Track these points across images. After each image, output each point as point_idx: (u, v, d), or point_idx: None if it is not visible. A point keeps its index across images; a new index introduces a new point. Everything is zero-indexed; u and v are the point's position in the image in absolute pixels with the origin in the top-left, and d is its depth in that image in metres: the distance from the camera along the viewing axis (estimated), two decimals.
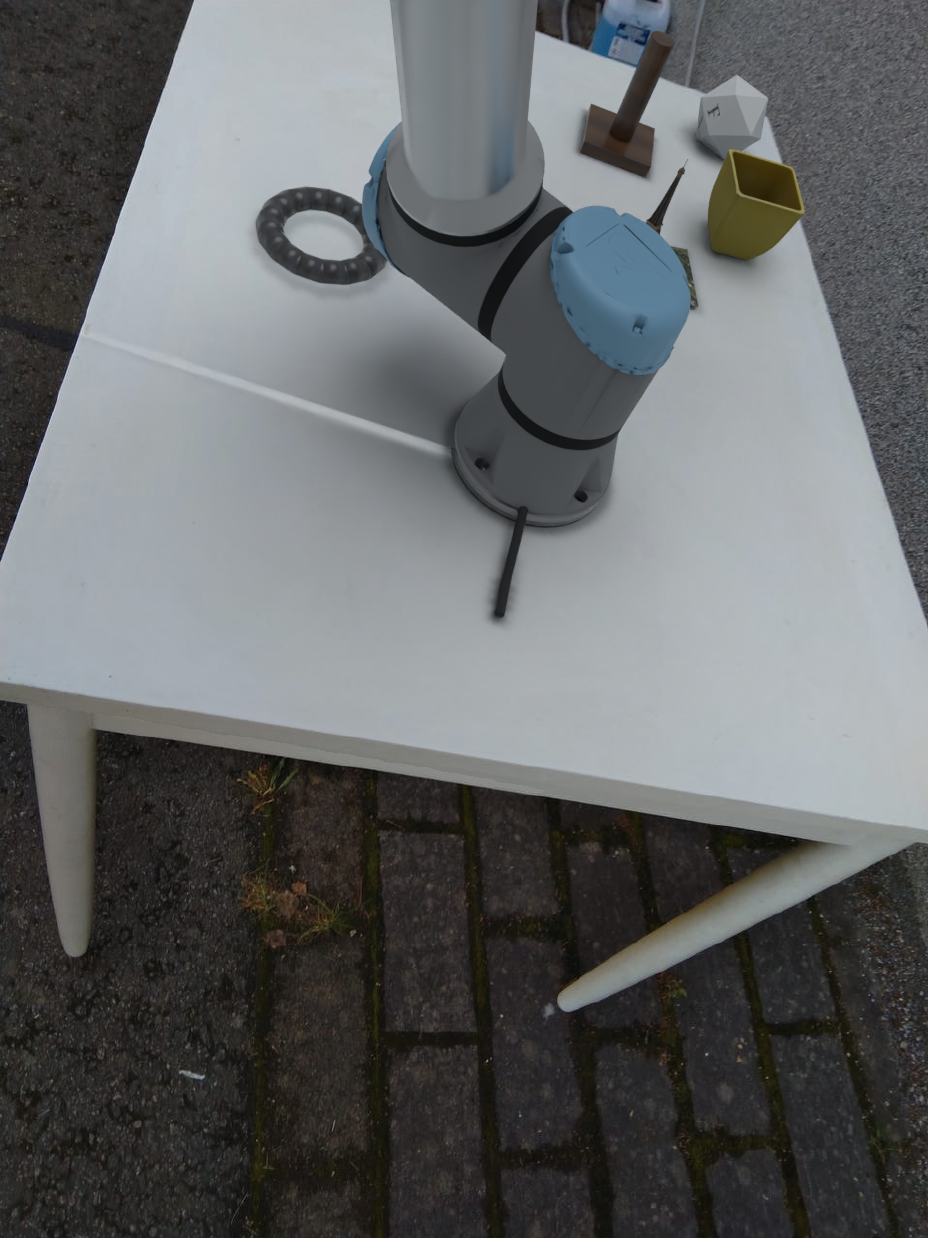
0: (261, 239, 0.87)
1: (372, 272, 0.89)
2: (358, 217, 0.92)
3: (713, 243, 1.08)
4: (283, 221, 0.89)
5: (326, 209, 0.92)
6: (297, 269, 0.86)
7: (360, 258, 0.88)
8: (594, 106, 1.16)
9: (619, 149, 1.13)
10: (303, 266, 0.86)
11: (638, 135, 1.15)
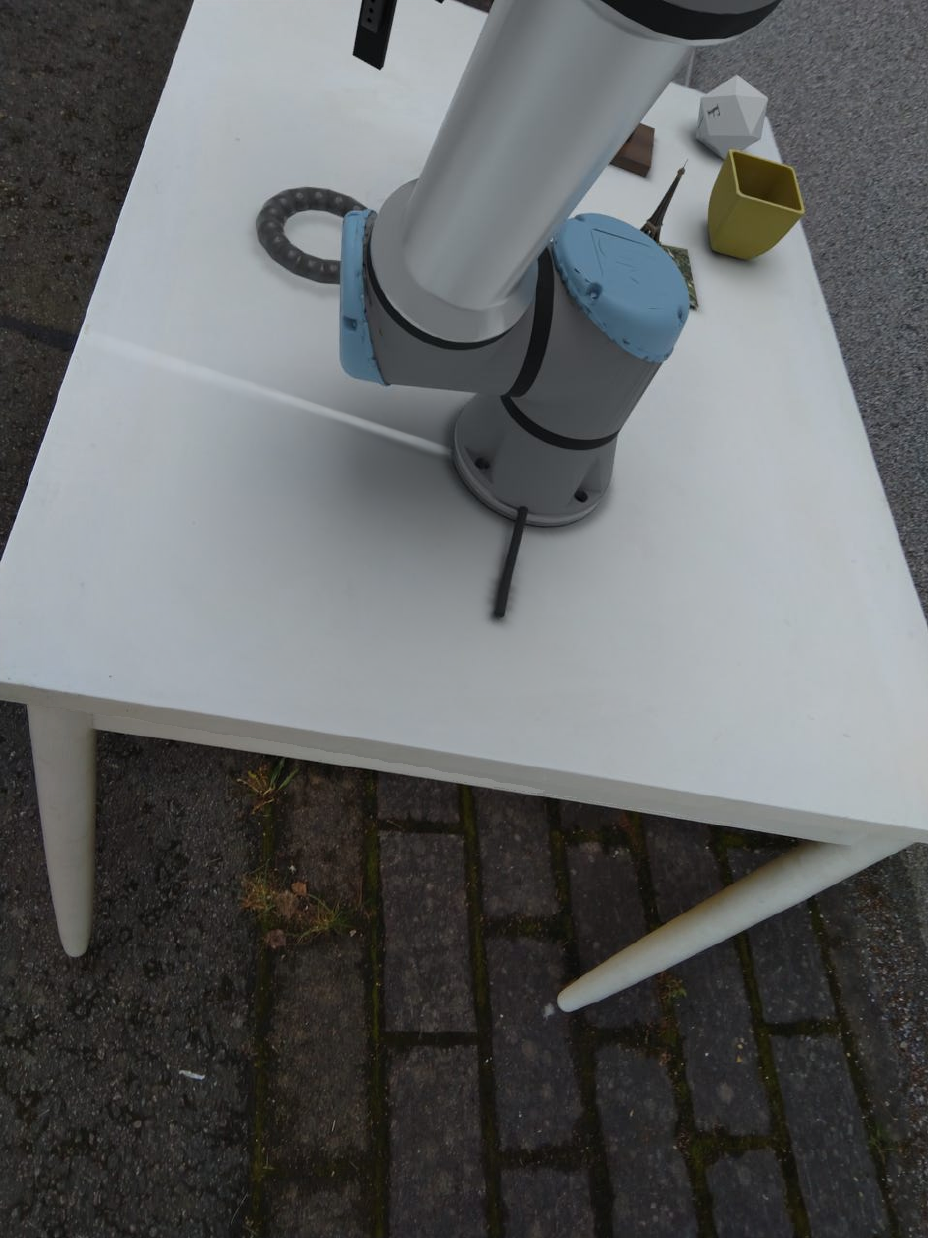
0: (261, 239, 0.87)
1: None
2: None
3: (713, 243, 1.08)
4: (283, 221, 0.89)
5: (326, 209, 0.92)
6: (297, 269, 0.86)
7: None
8: None
9: None
10: (303, 266, 0.86)
11: (638, 135, 1.15)
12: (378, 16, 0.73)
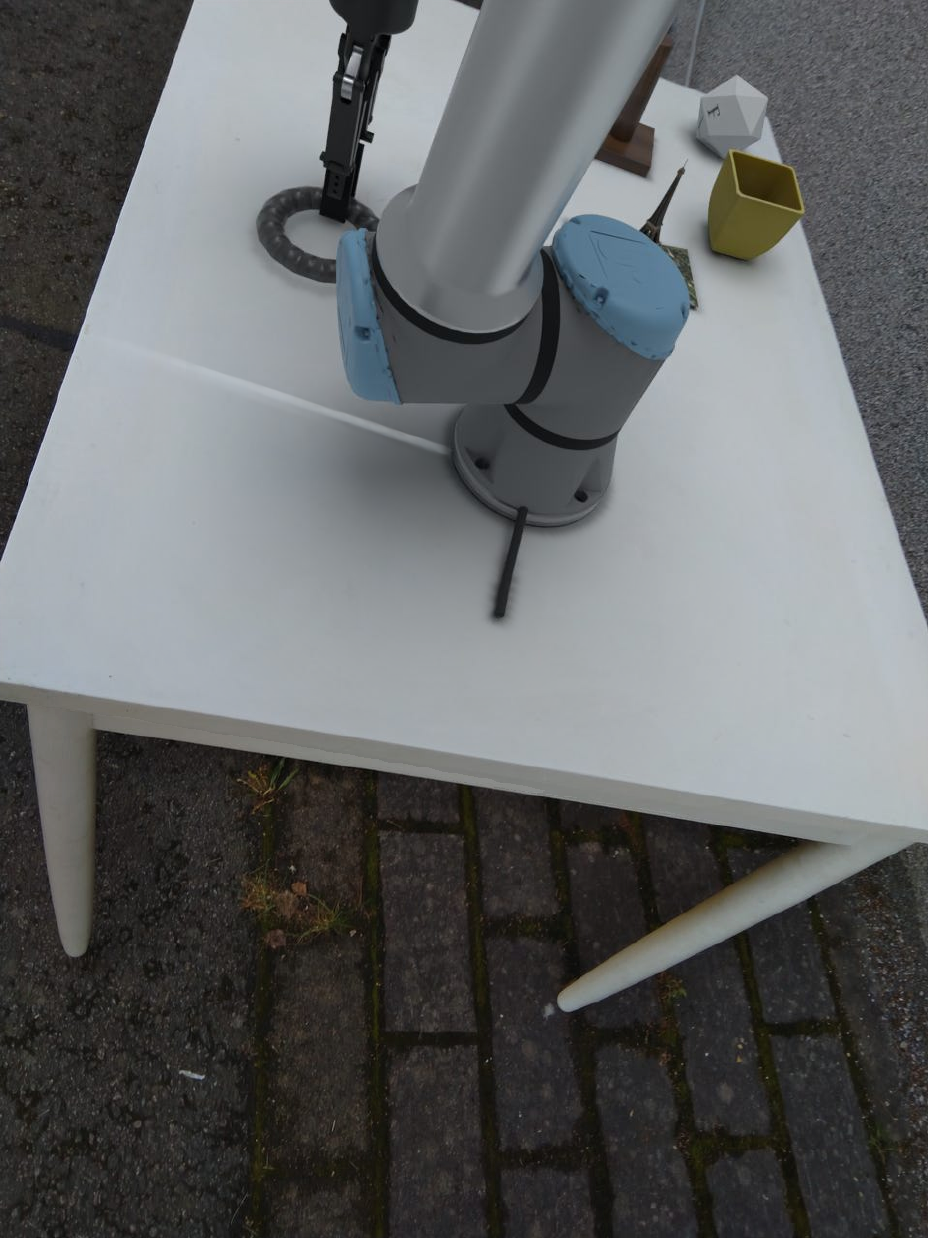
0: (261, 238, 0.87)
1: None
2: (358, 217, 0.92)
3: (713, 243, 1.08)
4: (283, 220, 0.89)
5: None
6: (298, 268, 0.86)
7: None
8: None
9: (619, 149, 1.13)
10: (303, 265, 0.86)
11: (638, 135, 1.15)
12: (342, 188, 0.88)
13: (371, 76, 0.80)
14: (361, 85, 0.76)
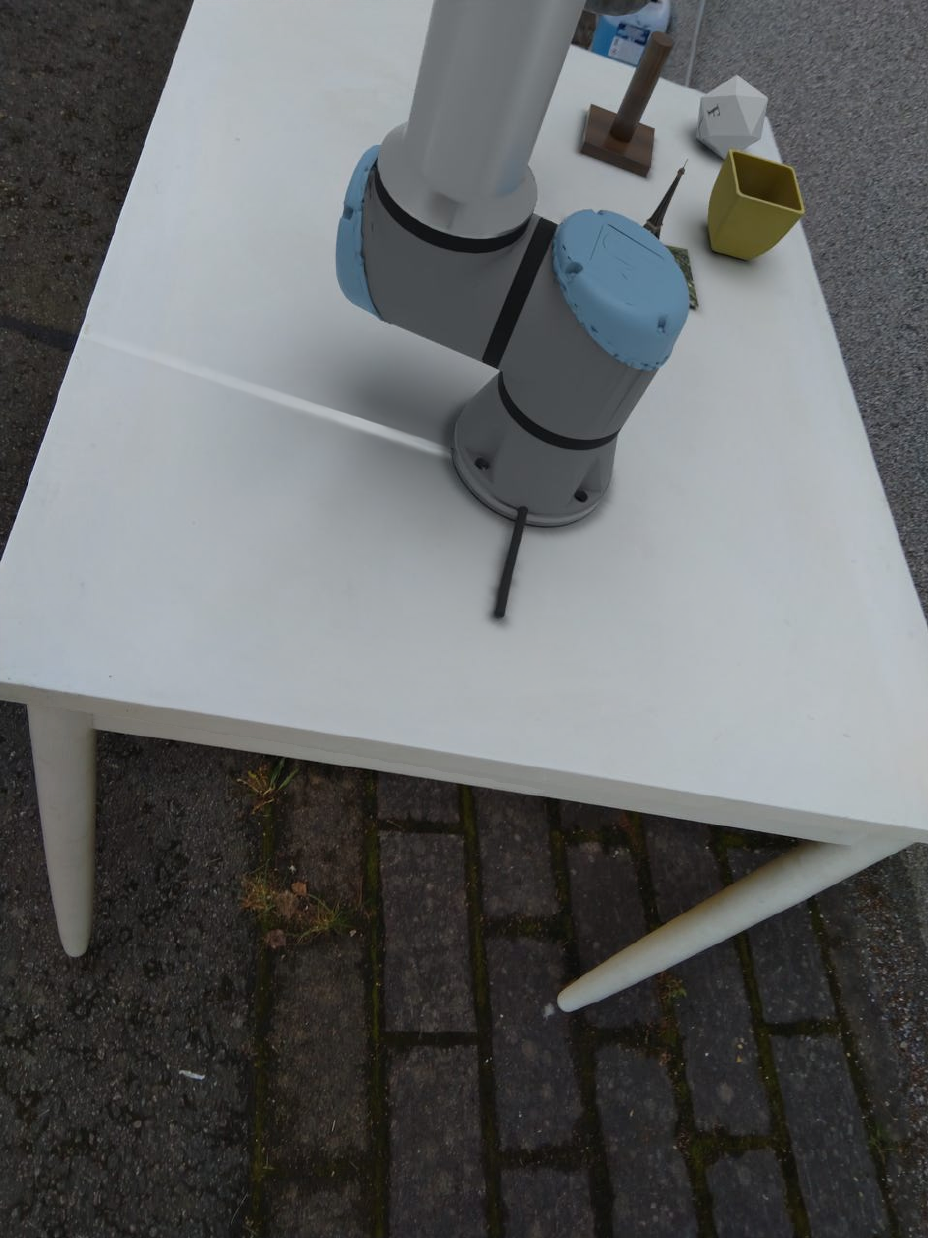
0: None
1: None
2: None
3: (713, 243, 1.08)
4: None
5: None
6: None
7: None
8: (594, 106, 1.16)
9: (619, 149, 1.13)
10: None
11: (638, 135, 1.15)
12: None
13: None
14: None
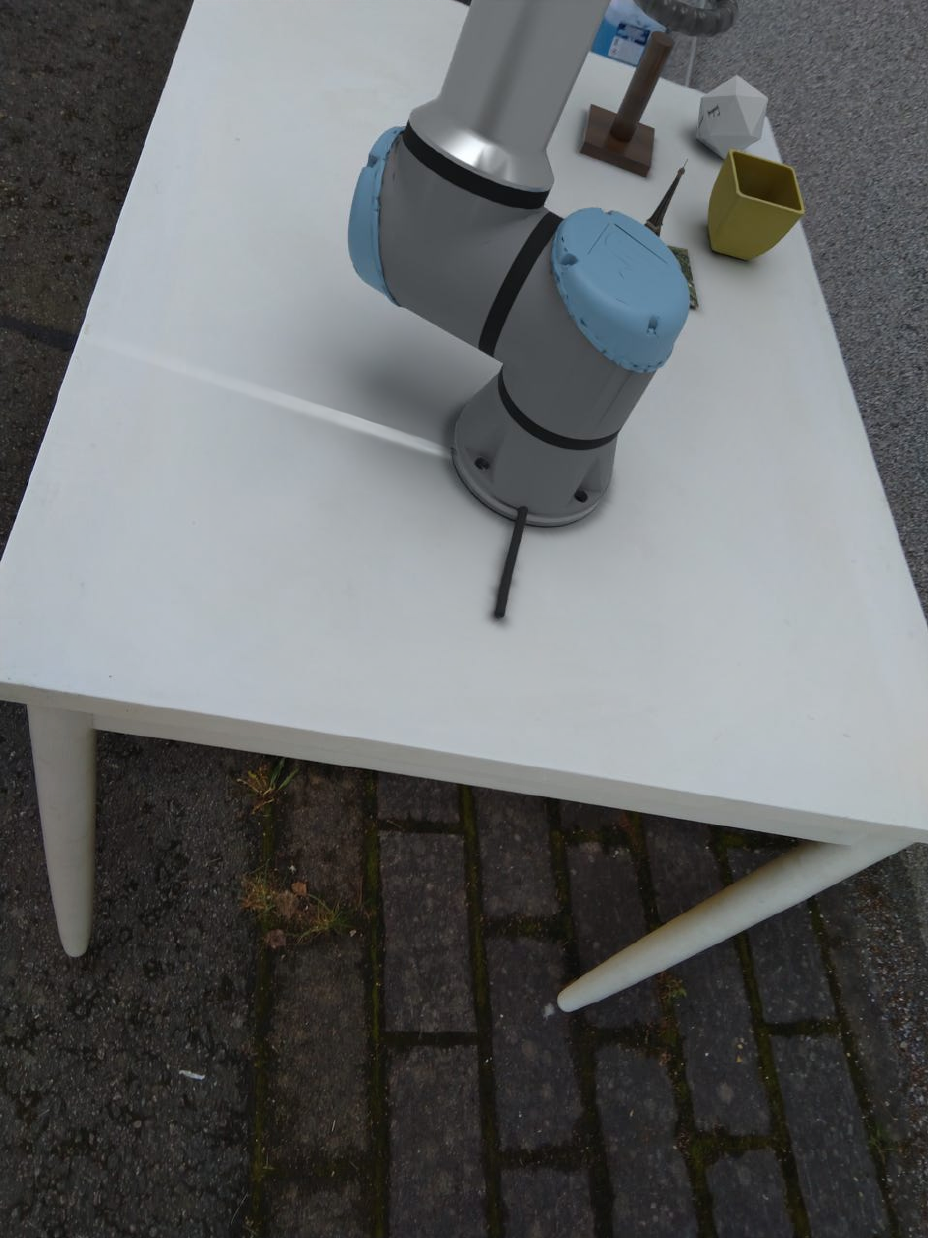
0: None
1: (730, 22, 0.99)
2: None
3: (713, 243, 1.08)
4: None
5: None
6: (674, 15, 0.97)
7: (722, 8, 0.99)
8: (594, 106, 1.16)
9: (619, 149, 1.13)
10: (679, 12, 0.97)
11: (638, 135, 1.15)
12: None
13: None
14: None
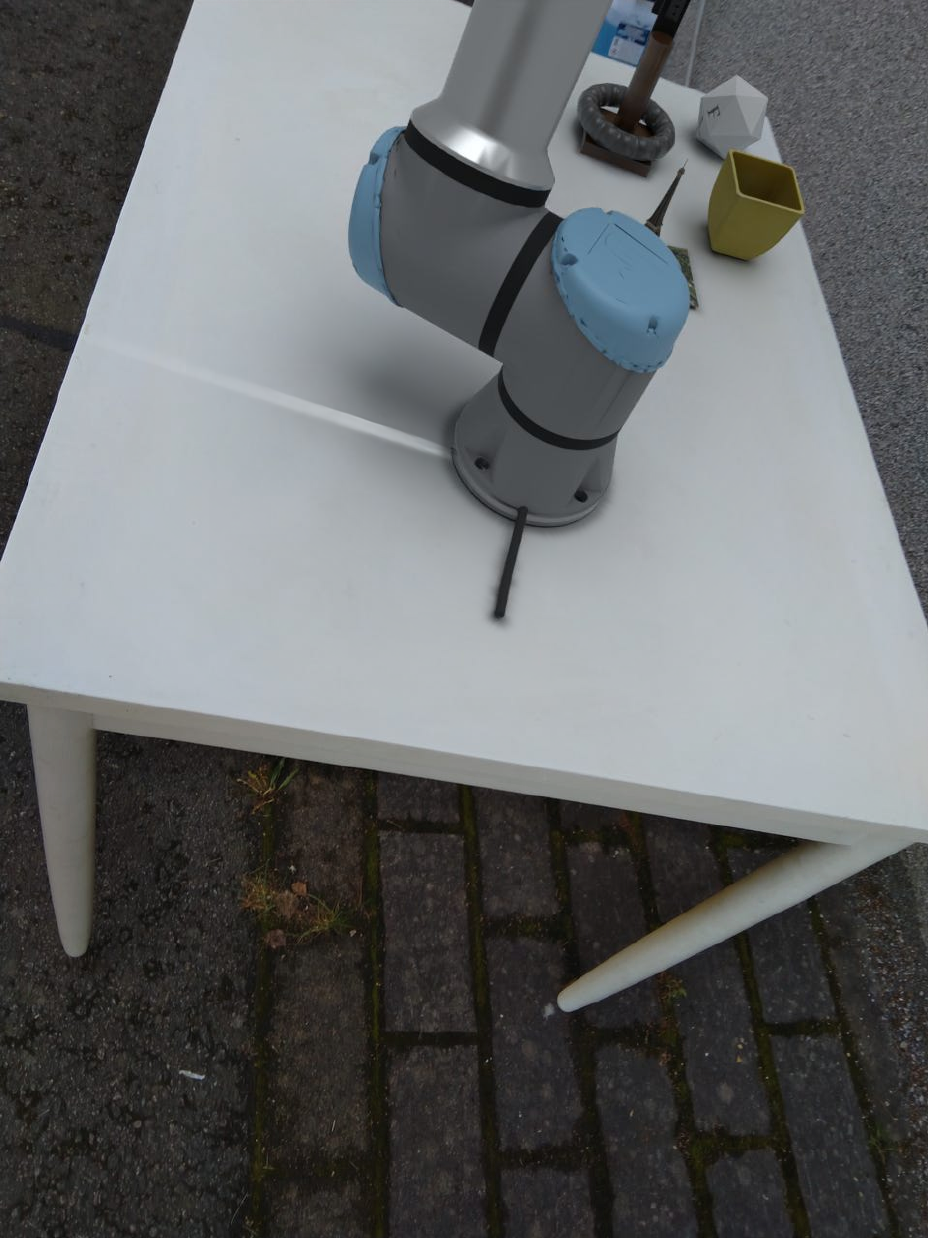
0: (587, 120, 1.10)
1: (668, 148, 1.13)
2: (648, 108, 1.15)
3: (713, 243, 1.08)
4: None
5: None
6: (618, 142, 1.10)
7: (661, 136, 1.12)
8: None
9: None
10: (623, 140, 1.10)
11: (638, 135, 1.15)
12: (681, 9, 1.02)
13: None
14: None
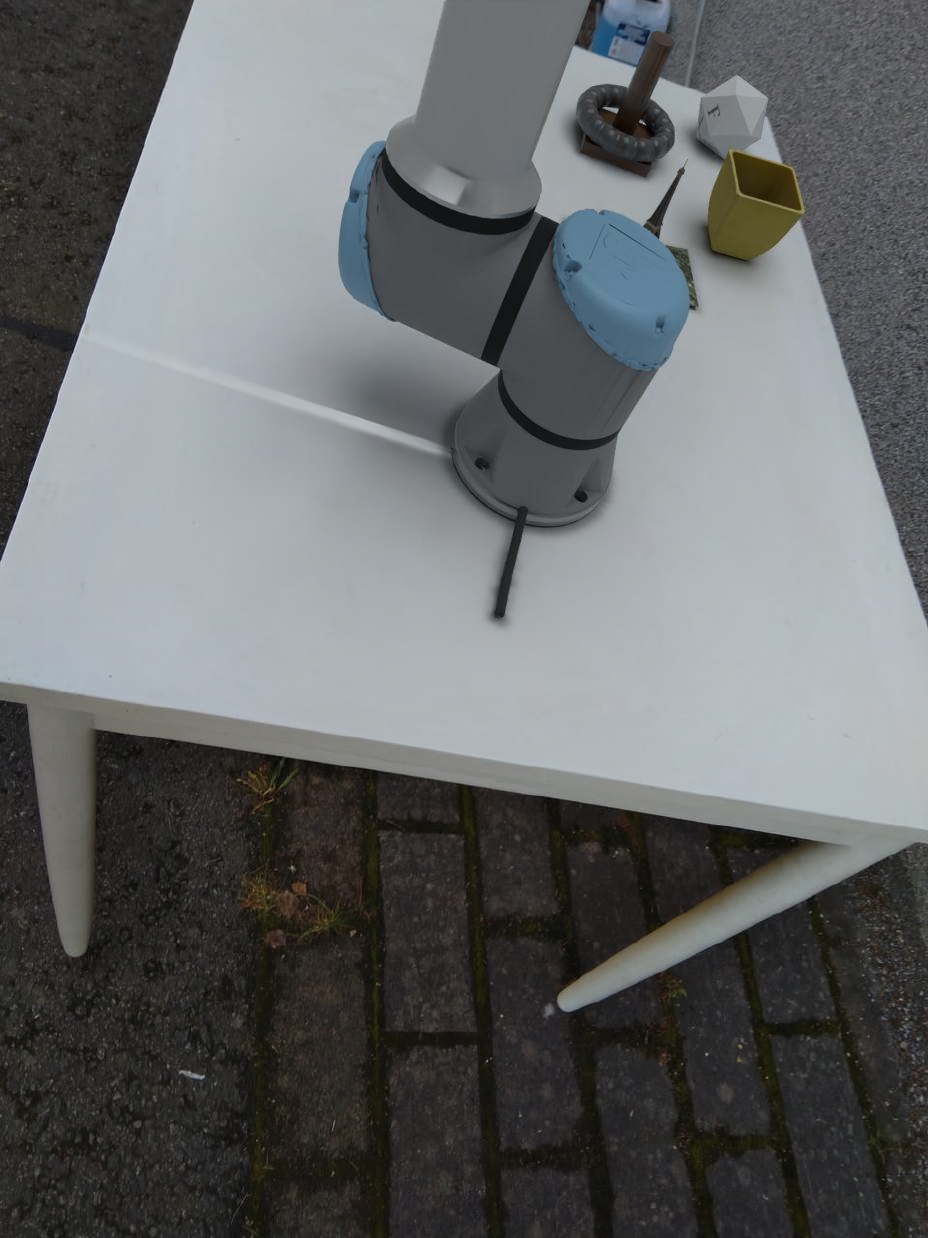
0: (586, 122, 1.11)
1: (668, 148, 1.13)
2: (648, 108, 1.15)
3: (713, 243, 1.08)
4: None
5: None
6: (617, 144, 1.10)
7: (660, 137, 1.12)
8: None
9: None
10: (622, 141, 1.10)
11: (638, 135, 1.15)
12: None
13: None
14: None
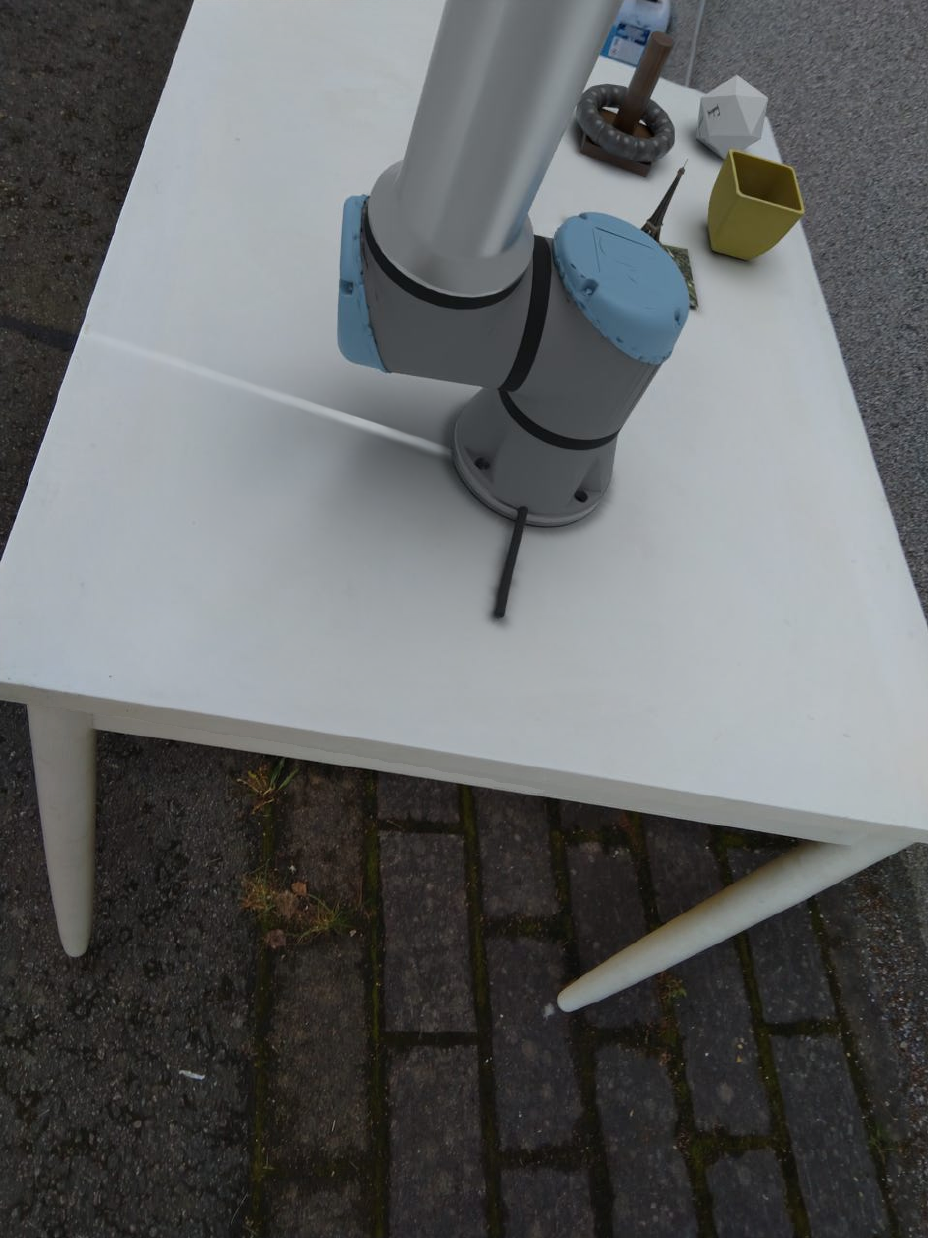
0: (586, 122, 1.11)
1: (668, 148, 1.13)
2: (648, 108, 1.15)
3: (713, 243, 1.08)
4: None
5: None
6: (617, 144, 1.10)
7: (660, 137, 1.12)
8: None
9: None
10: (622, 141, 1.10)
11: (638, 135, 1.15)
12: None
13: None
14: None
